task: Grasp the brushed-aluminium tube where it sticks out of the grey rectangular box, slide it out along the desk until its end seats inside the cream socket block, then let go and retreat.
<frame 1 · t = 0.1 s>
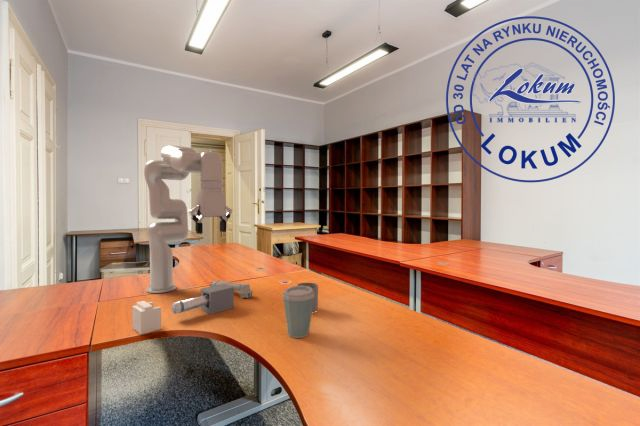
hand: (211, 232, 117), 31 cm above the table, fingers open, 9 cm apart
grey stepped bar: (230, 294, 145), on the table
tube: (203, 301, 120), point 4 cm above the table, slide at 0.0 cm
disposable coffee cup: (297, 334, 104), on the table
socket: (148, 327, 106), on the table
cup: (307, 310, 126), on the table
grey rectangular box: (217, 308, 125), on the table
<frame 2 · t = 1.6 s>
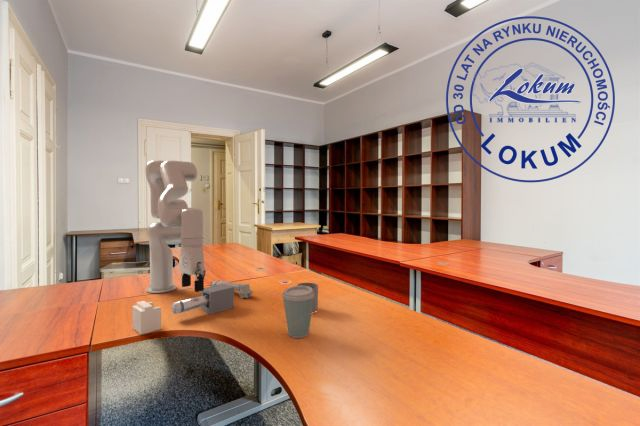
hand: (192, 288, 116), 10 cm above the table, fingers open, 9 cm apart
nothing on the table moved.
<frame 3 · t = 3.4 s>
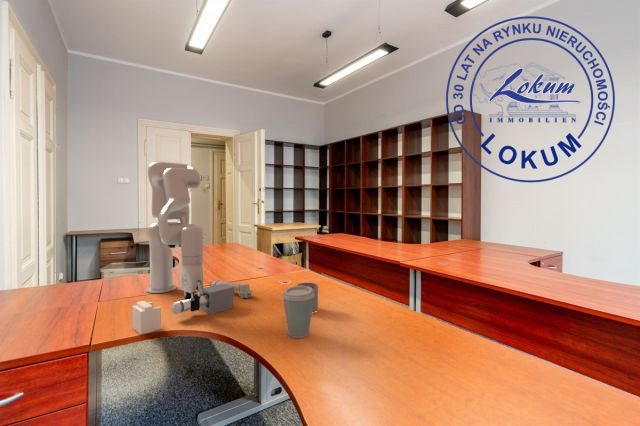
hand: (192, 308, 117), 3 cm above the table, fingers closed on tube, 4 cm apart
tube: (203, 301, 120), point 4 cm above the table, slide at 0.0 cm, touching gripper
everything else where it was.
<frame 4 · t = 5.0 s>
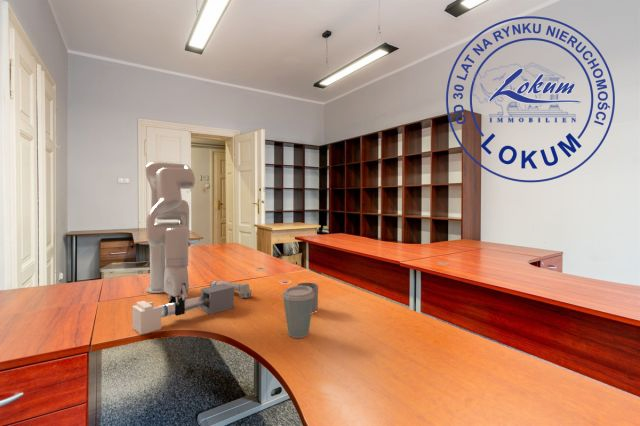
hand: (176, 312, 113), 3 cm above the table, fingers closed on tube, 4 cm apart
tube: (189, 304, 116), point 4 cm above the table, slide at 5.6 cm, touching gripper
everything else where it was.
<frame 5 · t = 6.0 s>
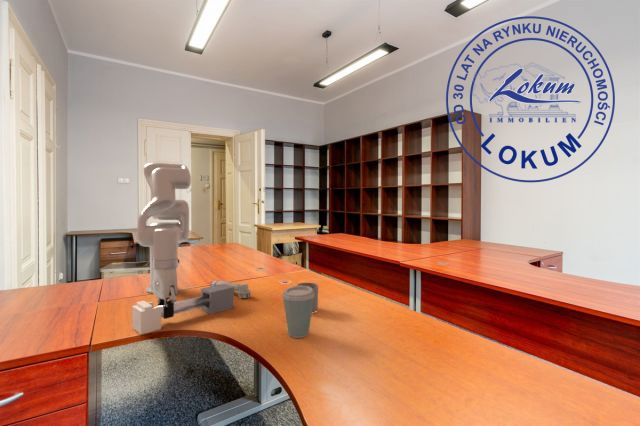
hand: (165, 315, 110), 3 cm above the table, fingers closed on tube, 4 cm apart
tube: (178, 307, 113), point 5 cm above the table, slide at 9.4 cm, touching gripper
everything else where it was.
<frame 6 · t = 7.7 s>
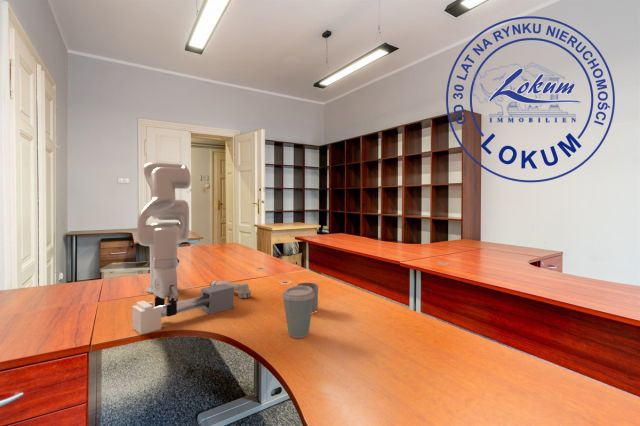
hand: (165, 311, 110), 4 cm above the table, fingers open, 9 cm apart
tube: (178, 307, 113), point 5 cm above the table, slide at 9.5 cm
everything else where it was.
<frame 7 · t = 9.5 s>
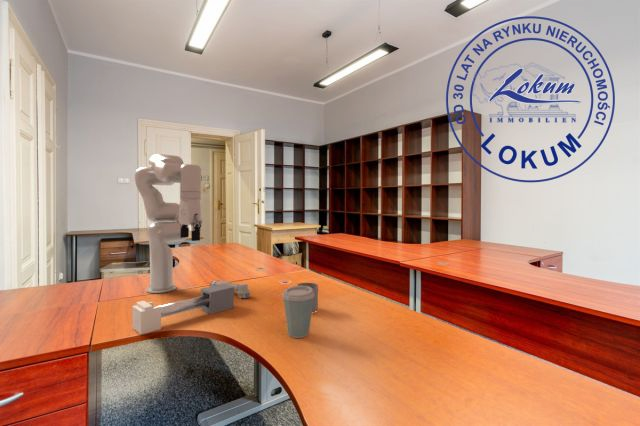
hand: (190, 238, 126), 27 cm above the table, fingers open, 9 cm apart
nothing on the table moved.
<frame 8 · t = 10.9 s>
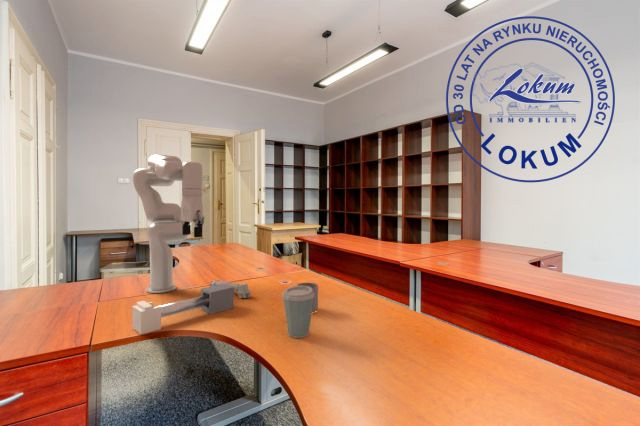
hand: (192, 235, 127), 28 cm above the table, fingers open, 9 cm apart
nothing on the table moved.
at the end: tube slide at 9.5 cm; the gripper is holding nothing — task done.
